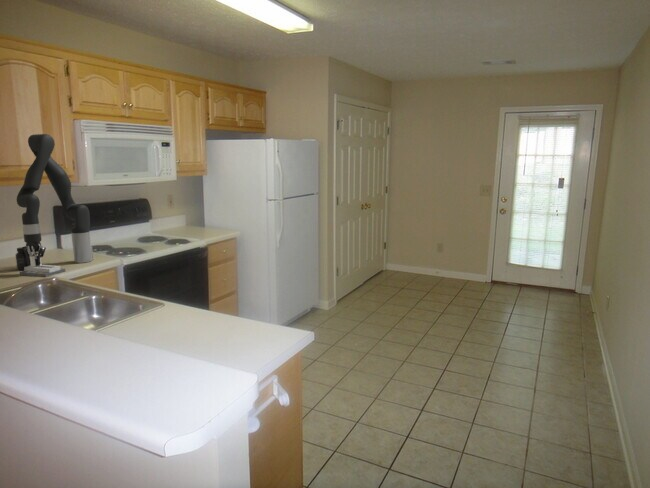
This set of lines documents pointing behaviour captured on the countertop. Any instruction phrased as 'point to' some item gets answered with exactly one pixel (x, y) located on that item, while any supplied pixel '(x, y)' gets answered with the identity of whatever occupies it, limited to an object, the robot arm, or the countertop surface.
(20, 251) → the supplement bottle
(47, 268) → the console
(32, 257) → the fader
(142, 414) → the countertop surface
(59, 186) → the robot arm
